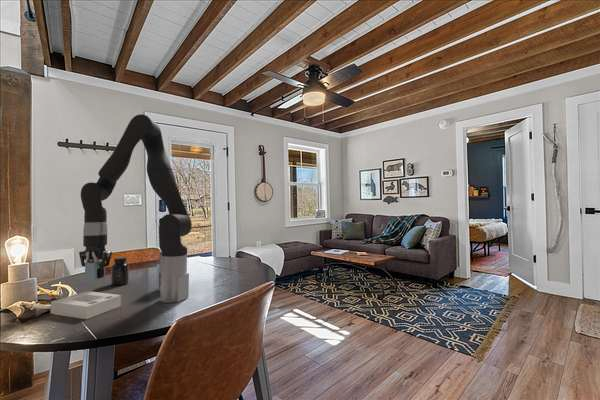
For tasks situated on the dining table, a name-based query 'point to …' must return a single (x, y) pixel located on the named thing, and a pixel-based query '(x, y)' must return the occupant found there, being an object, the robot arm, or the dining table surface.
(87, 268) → the plug block
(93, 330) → the dining table surface
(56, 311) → the socket plate
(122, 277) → the supplement bottle
